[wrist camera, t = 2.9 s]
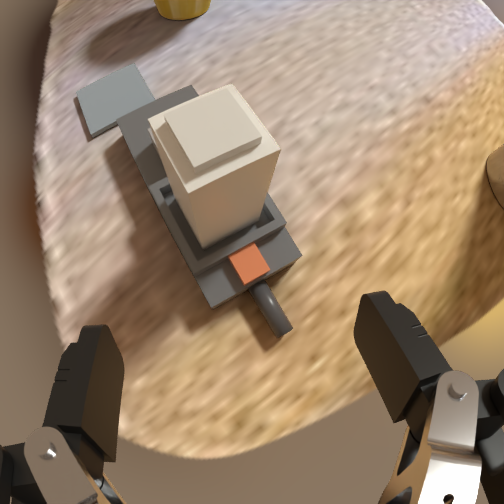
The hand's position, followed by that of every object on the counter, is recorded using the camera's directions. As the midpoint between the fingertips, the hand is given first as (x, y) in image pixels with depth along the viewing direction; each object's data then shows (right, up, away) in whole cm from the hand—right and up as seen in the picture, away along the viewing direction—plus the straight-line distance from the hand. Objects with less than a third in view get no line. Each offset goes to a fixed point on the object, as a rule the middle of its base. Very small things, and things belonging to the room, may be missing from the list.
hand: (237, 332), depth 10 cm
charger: (-2, +6, +14) cm, 15 cm away
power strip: (-3, +6, +16) cm, 17 cm away
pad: (-14, +18, +18) cm, 29 cm away
